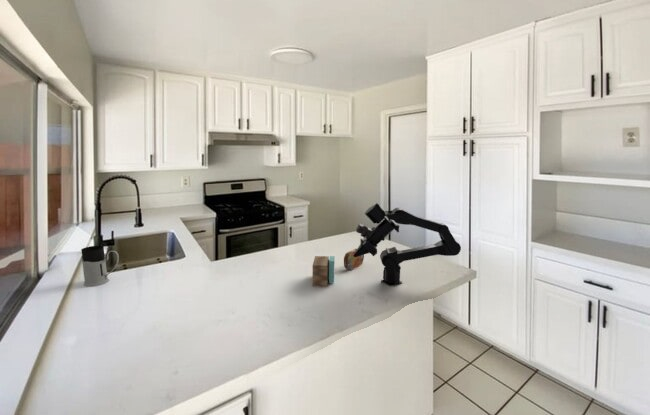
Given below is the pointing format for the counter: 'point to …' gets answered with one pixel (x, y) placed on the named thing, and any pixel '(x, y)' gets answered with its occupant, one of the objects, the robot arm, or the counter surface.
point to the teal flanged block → (331, 269)
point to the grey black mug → (95, 265)
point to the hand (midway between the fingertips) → (353, 256)
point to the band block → (321, 271)
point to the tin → (352, 260)
